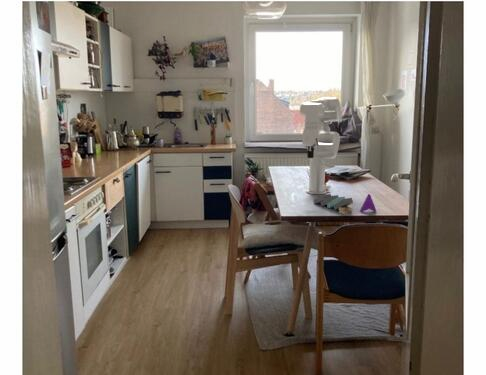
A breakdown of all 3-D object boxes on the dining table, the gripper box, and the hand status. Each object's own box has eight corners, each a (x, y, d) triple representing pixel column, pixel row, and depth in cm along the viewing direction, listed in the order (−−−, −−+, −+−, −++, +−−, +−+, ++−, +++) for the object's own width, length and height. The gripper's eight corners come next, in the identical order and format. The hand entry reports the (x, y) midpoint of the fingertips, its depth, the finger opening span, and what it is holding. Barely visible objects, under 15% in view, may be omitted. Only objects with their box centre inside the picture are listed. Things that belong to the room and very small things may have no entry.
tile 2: (320, 201, 246) (330, 196, 237) (327, 200, 248) (337, 195, 240) (321, 206, 245) (332, 200, 237) (328, 205, 247) (339, 199, 239)
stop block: (347, 211, 235) (348, 205, 234) (351, 212, 232) (351, 207, 231) (338, 212, 232) (339, 207, 231) (342, 213, 229) (343, 208, 229)
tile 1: (313, 199, 251) (323, 194, 242) (320, 198, 253) (330, 193, 245) (314, 203, 251) (324, 199, 242) (321, 202, 253) (331, 198, 244)
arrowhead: (366, 219, 235) (380, 206, 235) (368, 220, 234) (381, 206, 234) (355, 207, 233) (368, 193, 233) (356, 207, 231) (369, 194, 231)
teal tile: (326, 204, 241) (337, 197, 233) (333, 203, 243) (344, 196, 235) (327, 208, 240) (338, 202, 232) (335, 207, 243) (345, 201, 234)
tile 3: (333, 205, 236) (344, 198, 228) (340, 204, 238) (351, 197, 230) (334, 209, 235) (345, 203, 227) (342, 208, 238) (353, 202, 229)
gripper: (298, 125, 255) (297, 156, 259) (314, 126, 242) (313, 159, 246) (308, 124, 259) (307, 155, 262) (325, 126, 246) (323, 159, 250)
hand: (310, 157), depth 254 cm, fingers closed
